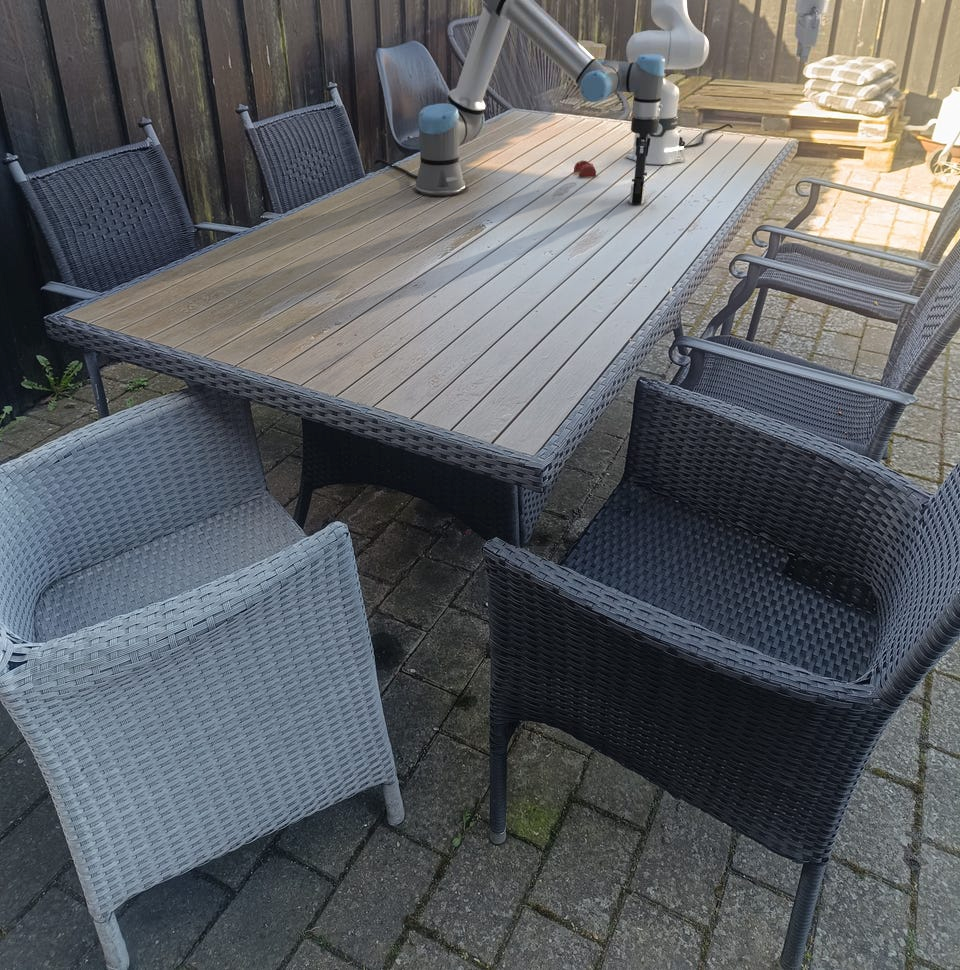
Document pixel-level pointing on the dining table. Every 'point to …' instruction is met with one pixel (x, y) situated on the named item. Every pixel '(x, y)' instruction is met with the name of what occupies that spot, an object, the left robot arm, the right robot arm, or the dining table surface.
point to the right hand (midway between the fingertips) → (801, 59)
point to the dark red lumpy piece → (584, 169)
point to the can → (632, 193)
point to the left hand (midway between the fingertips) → (637, 201)
